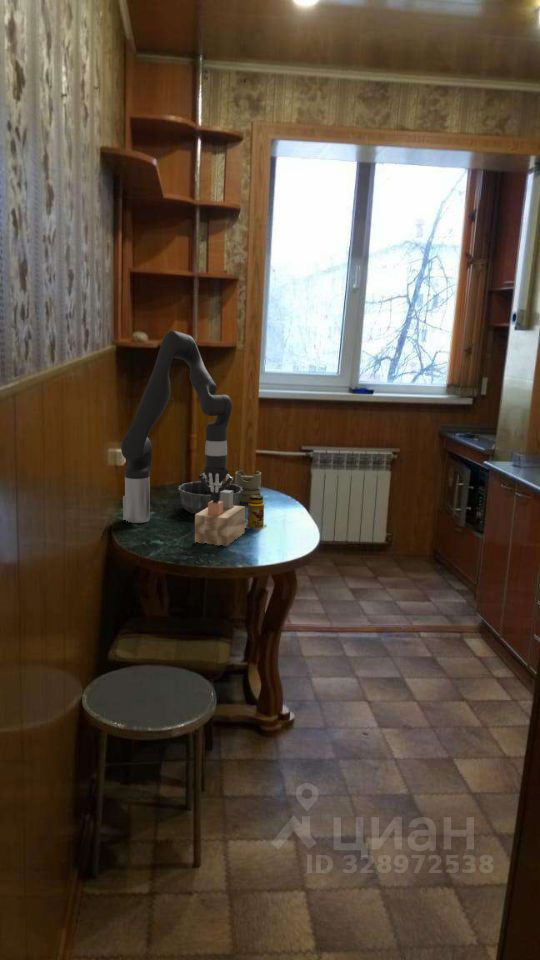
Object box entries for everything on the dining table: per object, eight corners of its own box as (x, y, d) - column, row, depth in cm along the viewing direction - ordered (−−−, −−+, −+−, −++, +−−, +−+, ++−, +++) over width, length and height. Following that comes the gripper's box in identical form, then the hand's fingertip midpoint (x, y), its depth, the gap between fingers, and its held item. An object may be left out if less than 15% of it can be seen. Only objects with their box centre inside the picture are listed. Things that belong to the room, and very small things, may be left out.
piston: (259, 475, 306) (233, 474, 307) (259, 502, 308) (233, 501, 309) (262, 470, 317) (237, 469, 318) (261, 497, 319) (236, 495, 320)
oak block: (194, 542, 248) (195, 514, 246) (214, 529, 265) (214, 503, 263) (226, 546, 245) (227, 518, 243) (244, 532, 261) (245, 506, 259)
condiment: (261, 530, 266) (261, 499, 264) (239, 527, 269) (240, 496, 266) (267, 525, 273) (267, 494, 271) (246, 523, 275) (246, 492, 273)
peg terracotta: (207, 525, 248) (208, 502, 246) (212, 522, 251) (212, 500, 250) (218, 526, 246) (218, 504, 245) (222, 523, 250) (223, 501, 249)
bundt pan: (253, 509, 298) (254, 485, 296) (221, 523, 275) (221, 497, 273) (200, 500, 309) (200, 478, 307) (165, 513, 286) (165, 489, 284)
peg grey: (218, 513, 257) (218, 491, 255) (222, 510, 260) (223, 489, 259) (228, 514, 255) (229, 492, 254) (232, 512, 259) (233, 490, 257)
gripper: (238, 452, 245) (237, 501, 249) (202, 450, 249) (202, 498, 253) (230, 456, 238) (229, 506, 242) (194, 453, 242) (193, 502, 246)
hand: (215, 502), depth 247 cm, fingers closed
